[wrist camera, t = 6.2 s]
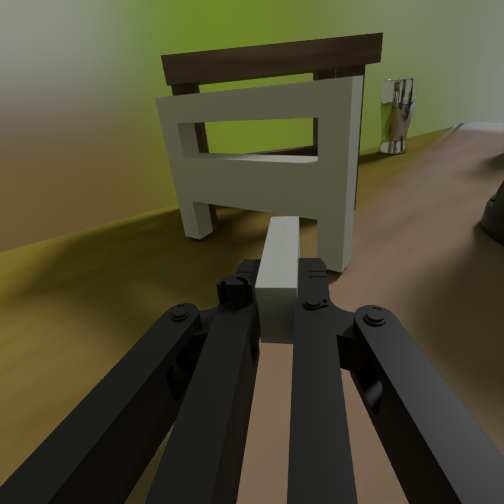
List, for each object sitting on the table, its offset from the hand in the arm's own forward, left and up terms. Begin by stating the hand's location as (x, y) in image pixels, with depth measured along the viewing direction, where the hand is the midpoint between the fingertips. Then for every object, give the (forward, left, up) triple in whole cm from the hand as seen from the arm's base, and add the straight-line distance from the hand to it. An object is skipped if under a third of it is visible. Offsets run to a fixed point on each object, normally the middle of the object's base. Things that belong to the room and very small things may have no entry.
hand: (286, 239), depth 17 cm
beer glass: (+55, -37, -9) cm, 66 cm away
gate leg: (+16, 0, -8) cm, 18 cm away
